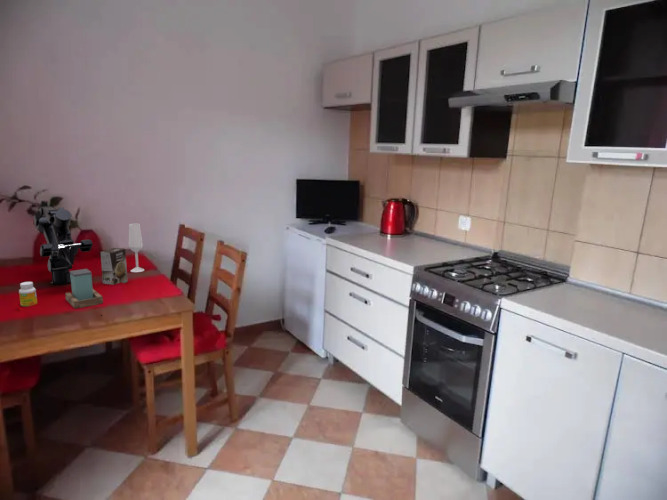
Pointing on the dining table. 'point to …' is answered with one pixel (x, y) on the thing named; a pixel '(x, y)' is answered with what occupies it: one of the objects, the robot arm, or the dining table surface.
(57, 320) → the dining table surface
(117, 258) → the coffee box
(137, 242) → the champagne flute
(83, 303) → the walnut track
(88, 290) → the grey teal box
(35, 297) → the supplement bottle
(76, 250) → the robot arm
